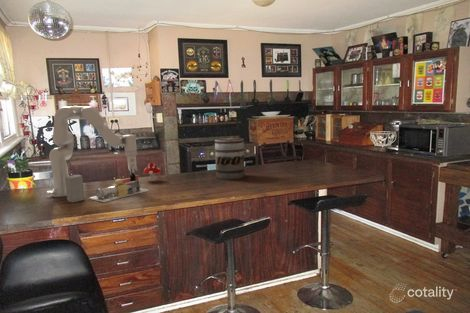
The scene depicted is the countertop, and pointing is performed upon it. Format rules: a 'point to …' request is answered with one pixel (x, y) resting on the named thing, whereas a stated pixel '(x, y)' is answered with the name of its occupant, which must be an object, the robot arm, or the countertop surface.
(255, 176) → the countertop surface
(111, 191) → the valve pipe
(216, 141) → the barrel
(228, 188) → the countertop surface
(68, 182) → the skincare box
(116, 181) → the lever
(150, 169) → the decorative mushroom
